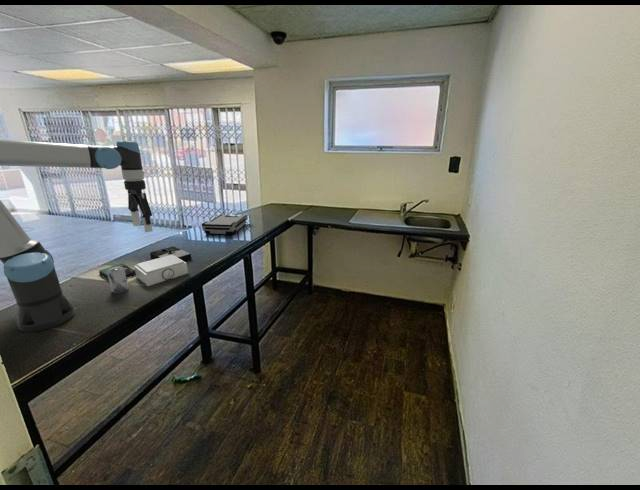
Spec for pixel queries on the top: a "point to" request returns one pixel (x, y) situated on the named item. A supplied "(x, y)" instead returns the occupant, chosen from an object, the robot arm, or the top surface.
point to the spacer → (117, 279)
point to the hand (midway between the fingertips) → (142, 228)
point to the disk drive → (127, 269)
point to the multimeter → (171, 253)
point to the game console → (224, 225)
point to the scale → (160, 269)
